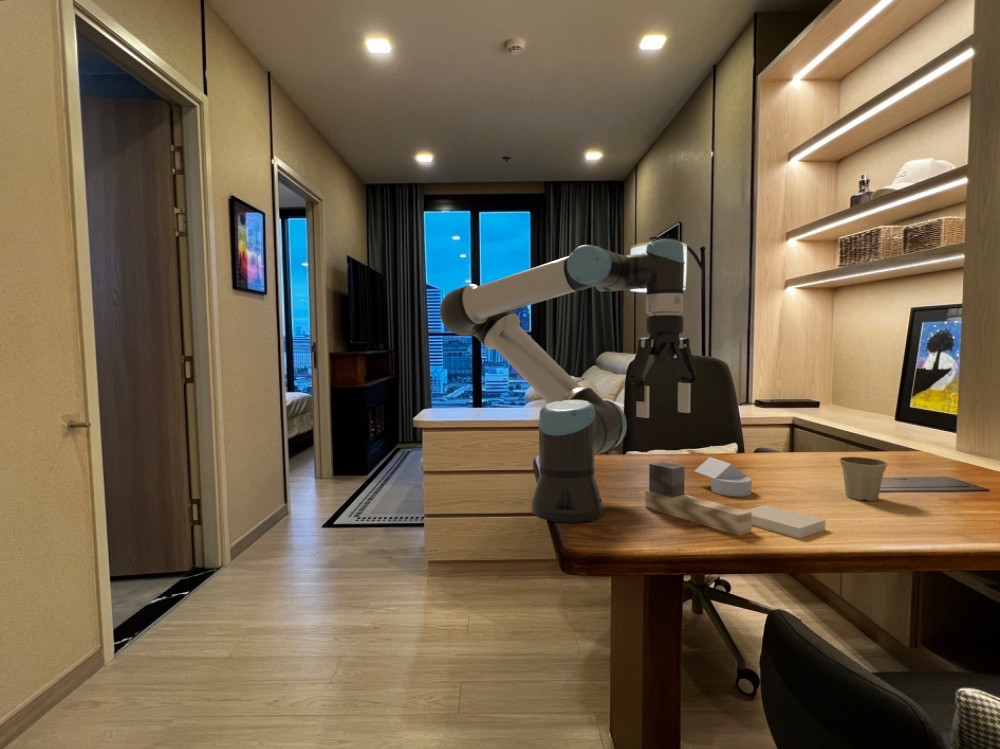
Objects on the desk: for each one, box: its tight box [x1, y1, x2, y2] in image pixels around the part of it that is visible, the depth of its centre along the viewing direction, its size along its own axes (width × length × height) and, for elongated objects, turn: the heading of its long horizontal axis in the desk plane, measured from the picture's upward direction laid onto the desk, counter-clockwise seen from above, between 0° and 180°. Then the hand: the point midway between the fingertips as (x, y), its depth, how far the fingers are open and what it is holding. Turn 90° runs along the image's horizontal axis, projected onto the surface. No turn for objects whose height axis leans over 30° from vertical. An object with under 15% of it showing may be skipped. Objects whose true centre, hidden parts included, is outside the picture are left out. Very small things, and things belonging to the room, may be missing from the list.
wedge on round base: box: [694, 456, 752, 497], centre depth 132 cm, size 9×7×13 cm
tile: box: [745, 504, 826, 539], centre depth 105 cm, size 9×2×12 cm
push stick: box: [644, 461, 752, 537], centre depth 110 cm, size 22×4×10 cm, turn 35°
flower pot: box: [838, 456, 889, 502], centre depth 124 cm, size 9×9×9 cm
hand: (664, 414), depth 115 cm, fingers open, 13 cm apart
